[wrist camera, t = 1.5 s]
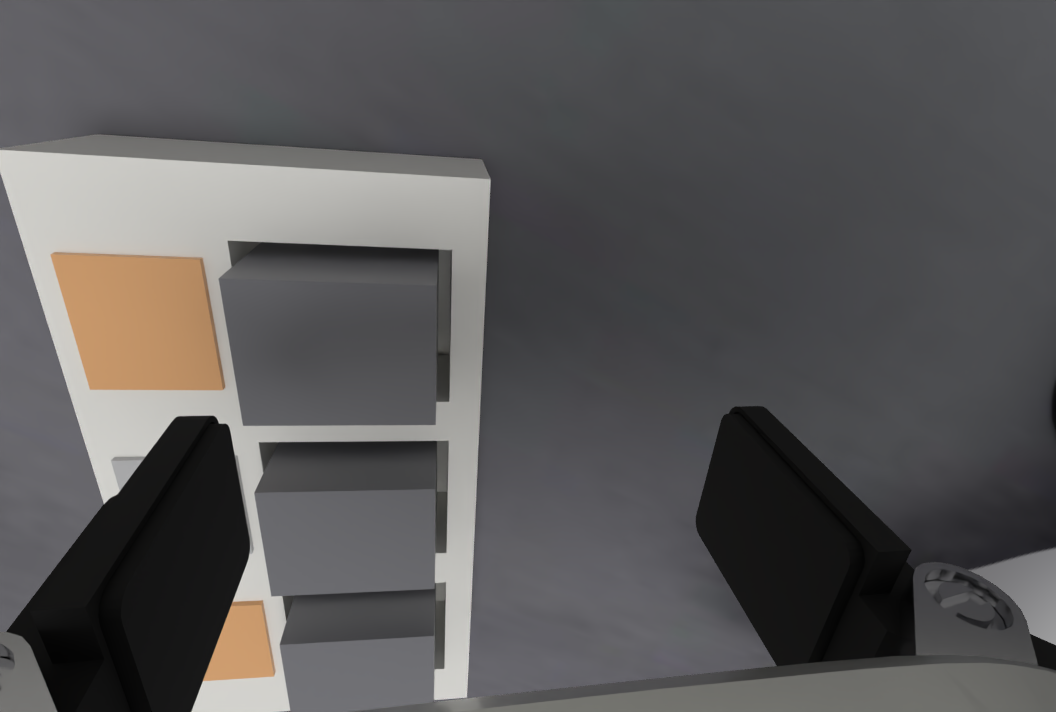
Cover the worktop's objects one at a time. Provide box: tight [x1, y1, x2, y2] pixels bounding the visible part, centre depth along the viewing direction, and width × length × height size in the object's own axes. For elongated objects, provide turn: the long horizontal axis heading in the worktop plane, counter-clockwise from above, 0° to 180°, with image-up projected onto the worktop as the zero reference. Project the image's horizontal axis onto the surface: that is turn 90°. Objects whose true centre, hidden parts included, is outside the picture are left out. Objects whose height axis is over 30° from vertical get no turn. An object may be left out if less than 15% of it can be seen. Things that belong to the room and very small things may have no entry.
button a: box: [219, 242, 439, 426], centre depth 16 cm, size 5×4×4 cm
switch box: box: [0, 134, 491, 712], centre depth 21 cm, size 12×22×5 cm, turn 176°
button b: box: [254, 441, 437, 596], centre depth 19 cm, size 5×4×4 cm
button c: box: [280, 583, 436, 712], centre depth 22 cm, size 5×4×4 cm
